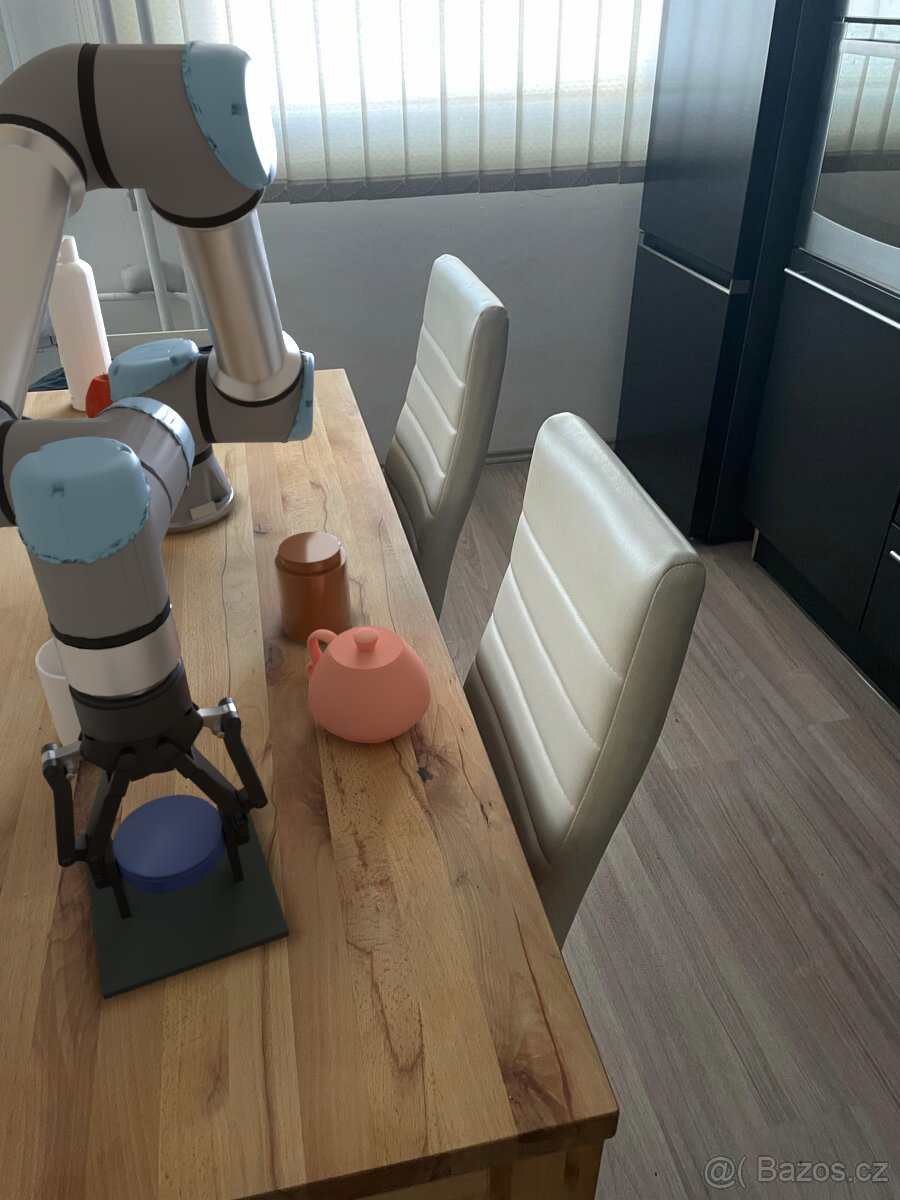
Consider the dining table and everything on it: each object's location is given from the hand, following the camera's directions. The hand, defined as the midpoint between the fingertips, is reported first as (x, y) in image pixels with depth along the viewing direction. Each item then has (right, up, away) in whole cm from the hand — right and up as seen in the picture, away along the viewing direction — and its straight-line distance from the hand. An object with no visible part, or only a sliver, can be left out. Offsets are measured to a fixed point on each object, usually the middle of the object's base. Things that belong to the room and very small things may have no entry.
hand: (181, 886), depth 75 cm
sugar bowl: (+13, +12, +20) cm, 26 cm away
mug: (-11, +10, +18) cm, 23 cm away
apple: (-33, +51, +78) cm, 99 cm away
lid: (0, +5, -3) cm, 6 cm away
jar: (+6, +21, +33) cm, 39 cm away
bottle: (-42, +59, +90) cm, 115 cm away
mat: (0, -1, +1) cm, 1 cm away
